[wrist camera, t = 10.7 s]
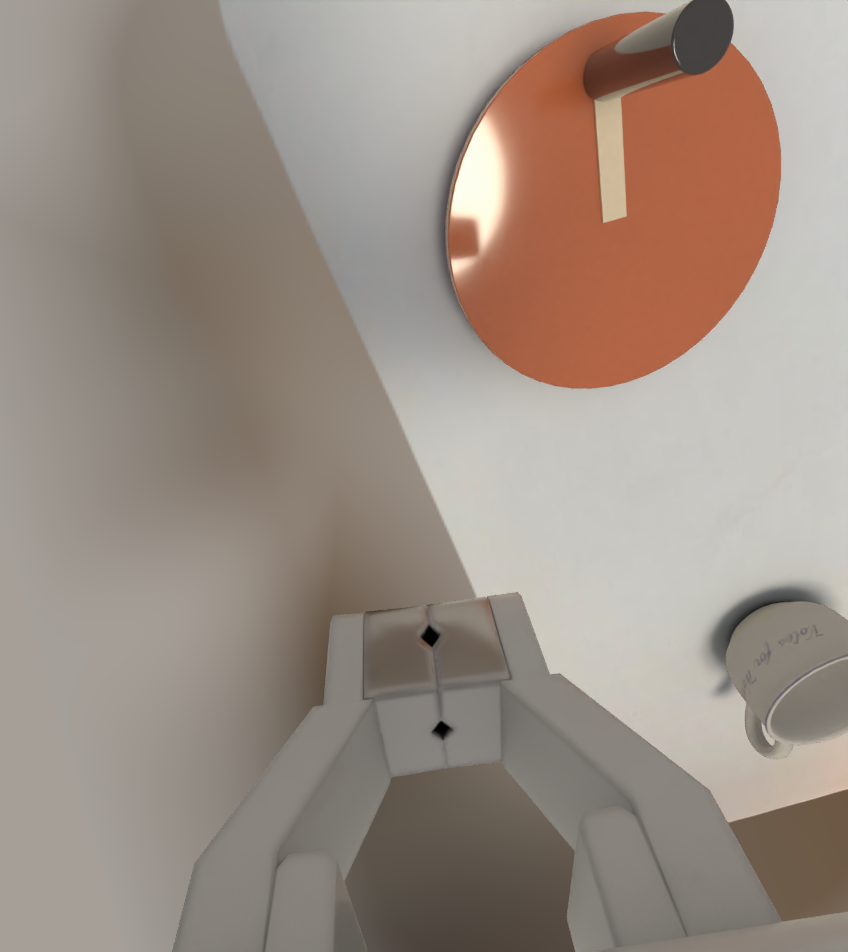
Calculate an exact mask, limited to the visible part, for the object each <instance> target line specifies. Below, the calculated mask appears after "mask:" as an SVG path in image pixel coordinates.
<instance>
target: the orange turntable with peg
mask: <svg viewBox="0 0 848 952" xmlns="http://www.w3.org/2000/svg"><path fill="white" fill-rule="evenodd" d="M733 29H734V20H733V14H732V11H731V8H730V6H729V5H728V3H727V2H726V1H725V0H691V1H689V2H687V3H685V4H683V5H682V6H680V7H678V8H676V9H674V10H672V11H670V12H668V13H655V12H636V13H625V14H618V15H614V16H610V17H606V18H602V19H599V20H595V21H592V22H590V23H588V24H585V25H583V26H581V27H579V28H576V29H574V30H572V31H569V32H568V33H566V34H564V35H563V36H561V37H560V38H558V39H556V40H555V41H553V42H552V43H550V44H548V45H547V46H545V47H544V48H542V49H541V50H539V51H538V52H537V53H536V54H534V55H533V56H532V57H531V58H530V59H528V60H527V61H526V62H525V63H524V64H522V65H521V66H520V67H519V68H517V70H516V71H515V72H514V73H513V74H512V75H511V76H510V77H509V78H508V79H507V80H506V81H505V82H504V83H503V84H502V85H501V87H500V88H499V89H498V90H497V91H496V93H495V94H494V95H493V97H492V98H491V100H490V101H489V102H488V104H487V105H486V106H485V108H484V109H483V110H482V112H481V114H480V116H479V117H478V119H477V121H476V123H475V124H474V126H473V128H472V130H471V131H470V133H469V135H468V137H467V140H466V142H465V145H464V147H463V149H462V152H461V154H460V156H459V159H458V162H457V165H456V168H455V172H454V175H453V179H452V182H451V186H450V192H449V197H448V203H447V209H446V225H445V241H446V257H447V262H448V268H449V273H450V278H451V281H452V285H453V288H454V291H455V294H456V297H457V300H458V302H459V304H460V306H461V308H462V310H463V312H464V314H465V316H466V318H467V320H468V321H469V323H470V324H471V326H472V327H473V329H474V330H475V332H476V333H477V335H478V336H479V338H480V339H481V340H482V341H483V342H484V343H485V345H486V346H487V347H488V348H489V349H490V350H491V351H492V352H493V353H494V354H495V355H496V356H497V357H498V358H500V359H501V360H502V361H503V362H504V363H505V364H507V365H508V366H510V367H512V368H513V369H515V370H516V371H518V372H520V373H521V374H523V375H526V376H528V377H530V378H532V379H534V380H537V381H540V382H543V383H547V384H550V385H554V386H560V387H567V388H599V387H608V386H613V385H617V384H621V383H625V382H629V381H632V380H634V379H637V378H640V377H643V376H645V375H648V374H650V373H652V372H654V371H656V370H658V369H660V368H662V367H664V366H666V365H667V364H669V363H670V362H672V361H673V360H675V359H677V358H678V357H680V356H681V355H683V354H684V353H685V352H687V351H688V350H689V349H690V348H692V347H693V346H694V345H696V344H697V343H698V342H699V341H700V340H701V339H703V338H704V337H705V336H706V335H707V334H708V333H709V332H710V331H711V330H712V329H713V328H714V327H715V326H716V325H717V324H718V323H719V321H720V320H721V319H722V318H723V317H724V316H725V314H726V313H727V312H728V311H729V310H730V308H731V307H732V306H733V304H734V303H735V301H736V300H737V299H738V297H739V296H740V294H741V293H742V292H743V290H744V288H745V287H746V285H747V283H748V281H749V280H750V278H751V276H752V274H753V273H754V271H755V269H756V267H757V265H758V262H759V260H760V258H761V256H762V253H763V251H764V249H765V246H766V244H767V241H768V238H769V235H770V232H771V229H772V226H773V222H774V217H775V213H776V208H777V204H778V198H779V189H780V180H781V149H780V141H779V133H778V127H777V123H776V119H775V116H774V112H773V108H772V104H771V102H770V100H769V97H768V95H767V93H766V91H765V88H764V86H763V84H762V82H761V80H760V78H759V77H758V75H757V74H756V72H755V71H754V69H753V68H752V66H751V64H750V63H749V62H748V61H747V59H746V58H745V57H744V56H743V55H742V54H741V53H740V52H739V51H738V50H737V49H736V47H735V46H734V45H733V44H731V43H730V42H731V39H732V35H733Z"/></svg>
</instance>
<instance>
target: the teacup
mask: <svg viewBox="0 0 848 952" xmlns="http://www.w3.org/2000/svg"><path fill="white" fill-rule="evenodd" d="M726 668H727V672H728V674H729V676H730V679H731V681H732V682H733V684H734V686H735V687H736V689H737V690H738V692H739V693H740V694H741V696H742V697H743V699H744V700H745V701H746V710H745V729H746V734H747V737H748V739H749V741H750V743H751V744H752V746H753V747H754V748H755V750H756V751H757V752H759V753H760V754H761V755H763V756H764V757H767V758H770V759H782V758H785V757H787V756H788V755H789V754H790V752H791V751H792V748H793V745H809V744H814V743H820V742H823V741H827V740H830V739H833V738H835V737H838V736H841V735H842V734H844V733H846V732H848V620H846V619H845V618H844V617H843V616H841V615H840V614H838V613H837V612H835V611H834V610H832V609H830V608H828V607H826V606H824V605H821V604H817V603H813V602H806V601H798V602H780V603H774V604H770V605H767V606H764V607H762V608H760V609H758V610H756V611H754V612H753V613H751V614H750V615H748V616H747V617H746V618H745V619H744V620H743V621H741V623H740V624H739V625H738V626H737V627H736V629H735V630H734V632H733V634H732V636H731V639H730V644H729V646H728V649H727V652H726ZM761 722H762V723H763V725H764V726H765V728H766V731H767V733H768V734H769V735H770V736H771V738H773V739H774V740H775V744H774V745H773V746H771V745H770V744H769V743H768V742H767V740H766V739H765V736H764V734H763V731H762V726H761Z"/></svg>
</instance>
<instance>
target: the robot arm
mask: <svg viewBox="0 0 848 952" xmlns="http://www.w3.org/2000/svg"><path fill="white" fill-rule="evenodd" d="M494 762H502V764H503V766H504V767H505V768H506V769H507V771H508V772H509V773H510V774H511V776H512V777H513V778H514V779H515V780H516V781H517V783H518V784H519V785H520V786H521V788H522V789H523V790H524V791H525V792H526V793H527V794H528V796H529V797H530V798H531V799H532V801H533V802H534V803H535V804H536V805H537V807H538V808H539V809H540V810H541V811H542V813H543V814H544V815H545V816H546V817H547V819H548V820H549V821H550V822H551V823H552V825H553V826H554V827H555V828H556V829H557V831H558V832H559V833H560V834H561V835H562V837H563V838H564V839H565V840H566V841H567V843H568V844H569V845H570V846H571V847H572V848H573V850H574V851H575V857H574V866H573V873H572V881H571V890H570V897H569V905H568V913H567V921H568V925H569V929H570V933H571V936H572V940H573V944H574V948H575V952H848V912H843V913H837V914H830V915H824V916H818V917H811V918H804V919H798V920H792V921H785V922H782V921H781V919H780V917H779V915H778V913H777V911H776V910H775V908H774V906H773V904H772V902H771V900H770V899H769V897H768V895H767V893H766V891H765V890H764V888H763V886H762V884H761V882H760V881H759V879H758V877H757V875H756V873H755V872H754V870H753V868H752V866H751V864H750V862H749V861H748V859H747V857H746V855H745V853H744V852H743V850H742V848H741V846H740V845H739V842H738V841H737V839H736V837H735V835H734V833H733V831H732V830H731V828H730V826H729V824H728V822H727V821H726V819H725V817H724V815H723V813H722V812H721V810H720V808H719V806H718V804H717V802H716V801H715V799H714V797H713V795H712V793H711V792H710V790H709V789H708V788H706V787H705V786H704V785H702V784H701V783H700V782H699V781H697V780H696V779H695V778H693V777H692V776H691V775H690V774H688V773H687V772H686V771H684V770H683V769H682V768H681V767H679V766H678V765H677V764H675V763H674V762H673V761H672V760H670V759H669V758H668V757H666V756H665V755H664V754H663V753H661V752H660V751H659V750H657V749H656V748H655V747H654V746H652V745H651V744H650V743H649V742H647V741H646V740H645V739H643V738H642V737H641V736H640V735H638V734H637V733H636V732H634V731H633V730H632V729H631V728H629V727H628V726H627V725H625V724H624V723H623V722H622V721H620V720H619V719H618V718H616V717H615V716H614V715H613V714H611V713H610V712H609V711H607V710H606V709H605V708H604V707H602V706H601V705H600V704H598V703H597V702H596V701H595V700H593V699H592V698H591V697H589V696H588V695H587V694H586V693H584V692H583V691H582V690H580V689H579V688H578V687H577V686H575V685H574V684H573V683H572V682H570V681H569V680H568V679H566V678H565V677H564V676H563V675H561V674H550V673H549V670H548V668H547V665H546V662H545V659H544V657H543V654H542V651H541V648H540V646H539V643H538V640H537V638H536V635H535V632H534V629H533V627H532V624H531V621H530V618H529V616H528V613H527V610H526V607H525V605H524V602H523V599H522V597H521V595H520V594H519V593H518V592H515V593H508V594H501V595H494V596H487V598H486V597H481V598H474V599H466V600H460V601H453V602H445V603H438V604H431V605H426V606H417V607H407V608H399V609H388V610H378V611H370V612H365V613H357V614H347V615H337V616H333V618H332V621H331V624H330V635H329V646H328V659H327V670H326V683H325V694H324V705H321V706H315V707H313V708H312V709H311V711H310V712H309V714H308V715H307V716H306V718H305V719H304V720H303V721H302V723H301V724H300V725H299V727H298V728H297V729H296V731H295V732H294V733H293V734H292V736H291V737H290V739H289V740H288V741H287V742H286V744H285V745H284V746H283V748H282V749H281V750H280V752H279V753H278V754H277V755H276V757H275V758H274V759H273V761H272V762H271V763H270V765H269V766H268V767H267V769H266V770H265V771H264V773H263V774H262V775H261V777H260V778H259V779H258V781H257V782H256V783H255V784H254V786H253V787H252V788H251V790H250V791H249V792H248V794H247V795H246V796H245V798H244V799H243V800H242V802H241V803H240V804H239V806H238V807H237V808H236V810H235V811H234V812H233V814H232V815H231V816H230V817H229V819H228V820H227V821H226V823H225V824H224V825H223V827H222V828H221V829H220V831H219V832H218V833H217V835H216V836H215V837H214V839H213V840H212V841H211V842H210V844H209V845H208V846H207V848H206V849H205V850H204V852H203V853H202V854H201V856H200V857H199V858H198V860H197V861H196V862H195V864H194V868H193V872H192V875H191V879H190V884H189V887H188V892H187V895H186V899H185V903H184V907H183V911H182V915H181V919H180V923H179V927H178V930H177V934H176V939H175V942H174V946H173V950H172V952H367V948H366V945H365V942H364V939H363V937H362V933H361V930H360V927H359V924H358V922H357V918H356V915H355V913H354V909H353V907H352V904H351V901H350V898H349V895H348V892H347V889H346V886H345V883H344V881H345V878H346V876H347V874H348V872H349V870H350V868H351V866H352V863H353V861H354V859H355V857H356V855H357V853H358V851H359V849H360V846H361V844H362V842H363V840H364V838H365V836H366V834H367V831H368V829H369V827H370V825H371V823H372V821H373V819H374V816H375V814H376V812H377V810H378V807H379V806H380V803H381V801H382V799H383V797H384V795H385V793H386V791H387V788H388V787H389V784H390V782H391V779H390V777H396V776H401V775H407V774H414V773H419V772H425V771H431V770H437V769H443V768H450V767H459V766H468V765H477V764H486V763H494Z"/></svg>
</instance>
